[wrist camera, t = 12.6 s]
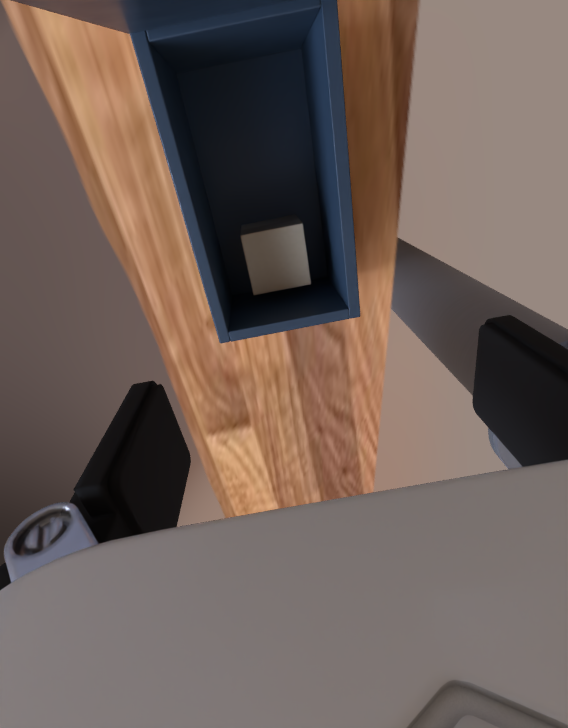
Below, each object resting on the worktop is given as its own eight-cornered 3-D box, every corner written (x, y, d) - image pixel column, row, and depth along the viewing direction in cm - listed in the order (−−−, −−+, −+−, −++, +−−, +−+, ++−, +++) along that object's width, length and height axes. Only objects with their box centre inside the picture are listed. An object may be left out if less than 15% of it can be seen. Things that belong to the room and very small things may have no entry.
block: (295, 214, 26) (303, 222, 23) (303, 268, 28) (311, 284, 25) (241, 225, 26) (240, 235, 23) (252, 278, 28) (253, 295, 25)
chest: (335, 280, 30) (360, 316, 23) (226, 302, 30) (219, 343, 23) (309, 34, 22) (336, -19, 16) (163, 63, 22) (126, 24, 16)
